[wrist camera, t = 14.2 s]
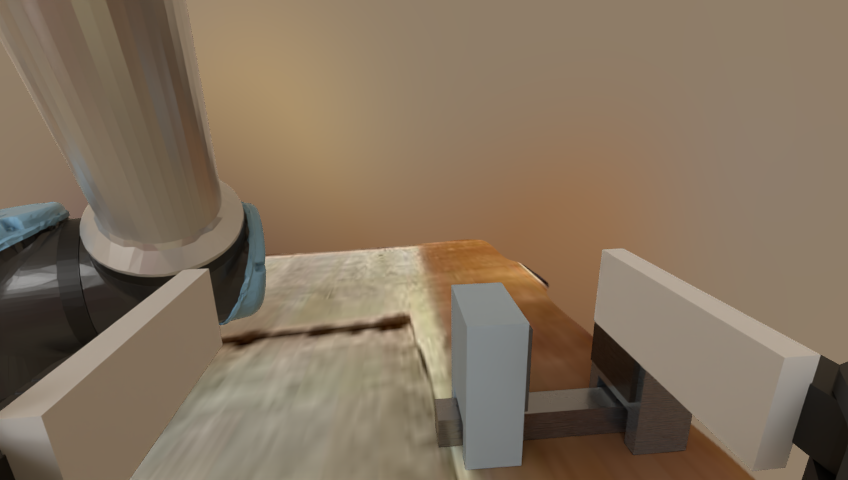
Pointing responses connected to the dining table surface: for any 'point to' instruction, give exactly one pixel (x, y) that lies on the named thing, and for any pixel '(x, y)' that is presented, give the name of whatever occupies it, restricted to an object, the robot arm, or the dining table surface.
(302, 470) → the dining table surface
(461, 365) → the tall grey-blue pillar
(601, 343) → the grey l-shaped block
